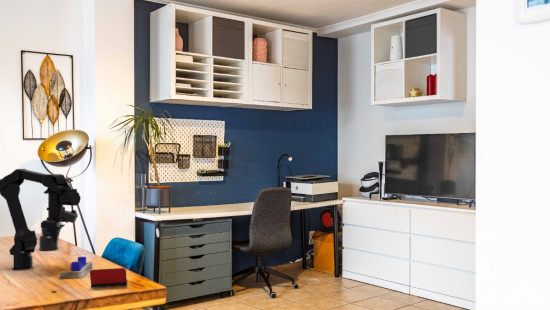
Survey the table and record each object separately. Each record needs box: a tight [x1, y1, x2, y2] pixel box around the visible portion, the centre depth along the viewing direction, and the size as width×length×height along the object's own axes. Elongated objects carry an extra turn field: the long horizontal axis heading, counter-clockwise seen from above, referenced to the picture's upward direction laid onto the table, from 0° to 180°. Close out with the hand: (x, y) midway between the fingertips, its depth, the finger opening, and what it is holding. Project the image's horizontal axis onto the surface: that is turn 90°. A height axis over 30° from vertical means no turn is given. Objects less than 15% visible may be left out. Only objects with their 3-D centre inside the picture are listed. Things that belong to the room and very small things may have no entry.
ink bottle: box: [38, 228, 59, 252], centre depth 281 cm, size 10×9×12 cm
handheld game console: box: [89, 267, 128, 289], centre depth 203 cm, size 12×11×7 cm
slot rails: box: [58, 261, 93, 280], centre depth 224 cm, size 8×19×2 cm, turn 7°
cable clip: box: [71, 256, 87, 271], centre depth 223 cm, size 12×4×6 cm, turn 7°
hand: (55, 242), depth 229 cm, fingers closed
